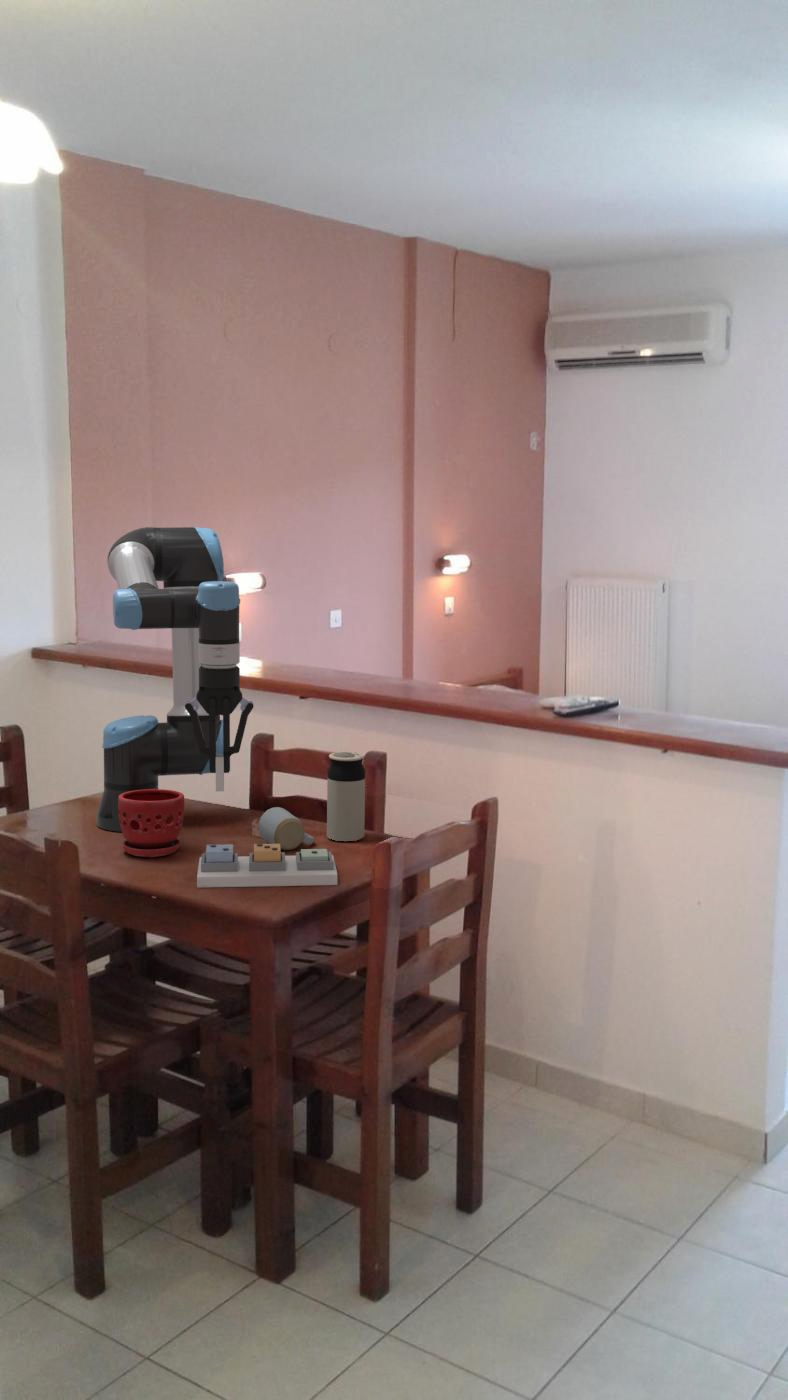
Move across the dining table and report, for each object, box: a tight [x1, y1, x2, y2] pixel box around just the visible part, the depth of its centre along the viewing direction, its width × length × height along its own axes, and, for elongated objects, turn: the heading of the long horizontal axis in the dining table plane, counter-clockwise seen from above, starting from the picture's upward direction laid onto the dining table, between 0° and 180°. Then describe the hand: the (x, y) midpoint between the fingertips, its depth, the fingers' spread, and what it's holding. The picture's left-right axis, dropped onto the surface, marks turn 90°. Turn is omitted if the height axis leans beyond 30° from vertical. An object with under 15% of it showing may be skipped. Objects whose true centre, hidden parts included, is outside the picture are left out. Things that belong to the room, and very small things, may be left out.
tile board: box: [196, 851, 338, 889], centre depth 242 cm, size 13×26×4 cm, turn 96°
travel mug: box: [326, 751, 366, 842], centre depth 268 cm, size 8×8×18 cm
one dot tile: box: [300, 848, 328, 861], centre depth 242 cm, size 5×5×2 cm
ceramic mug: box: [258, 806, 315, 851], centre depth 262 cm, size 11×8×8 cm
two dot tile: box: [205, 843, 234, 862], centre depth 240 cm, size 5×5×2 cm
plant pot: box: [118, 788, 185, 859], centre depth 256 cm, size 13×13×12 cm
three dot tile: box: [253, 843, 282, 862], centre depth 241 cm, size 5×5×2 cm
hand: (219, 789), depth 238 cm, fingers closed
